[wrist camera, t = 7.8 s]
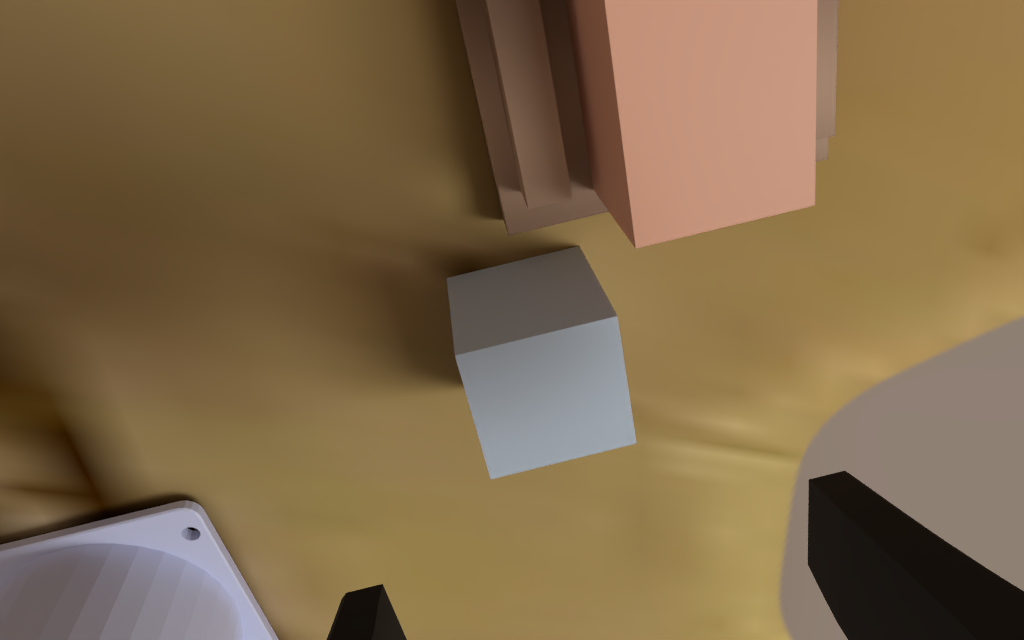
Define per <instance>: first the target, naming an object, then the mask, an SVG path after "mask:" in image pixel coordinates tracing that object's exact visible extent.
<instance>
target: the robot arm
mask: <svg viewBox="0 0 1024 640" xmlns="http://www.w3.org/2000/svg"><path fill="white" fill-rule="evenodd" d="M808 517H809V518H808V565H809V567H810V569H811V572H812V574H813V576H814V578H815V580H816V582H817V584H818V586H819V588H820V590H821V592H822V594H823V596H824V598H825V600H826V602H827V604H828V605H829V607H830V609H831V611H832V613H833V615H834V617H835V619H836V621H837V623H838V624H839V626H840V627H841V629H842V630H843V632H844V634H845V635H846V637H847V638H848V640H1024V591H1022V590H1021V589H1019V588H1017V587H1016V586H1014V585H1012V584H1011V583H1009V582H1008V581H1006V580H1004V579H1003V578H1001V577H1000V576H998V575H997V574H995V573H993V572H992V571H990V570H989V569H987V568H985V567H984V566H982V565H981V564H979V563H978V562H976V561H975V560H973V559H972V558H970V557H969V556H967V555H966V554H964V553H963V552H961V551H960V550H958V549H957V548H955V547H953V546H952V545H950V544H949V543H947V542H946V541H944V540H943V539H941V538H940V537H939V536H937V535H936V534H934V533H932V532H931V531H930V530H928V529H927V528H925V527H924V526H923V525H921V524H920V523H918V522H917V521H915V520H914V519H913V518H911V517H910V516H908V515H907V514H905V513H904V512H902V511H901V510H900V509H898V508H897V507H896V506H894V505H893V504H891V503H890V502H888V501H887V500H886V499H884V498H883V497H881V496H880V495H879V494H877V493H876V492H874V491H873V490H872V489H870V488H869V487H867V486H866V485H865V484H863V483H862V482H860V481H859V480H858V479H856V478H855V477H853V476H852V475H850V474H849V473H847V472H846V471H842V472H838V473H834V474H830V475H826V476H822V477H818V478H814V479H809V514H808ZM187 527H193V528H196V529H198V530H196V531H193V530H190V529H188V528H187ZM0 640H279V639H278V638H277V636H276V634H275V632H274V631H273V629H272V627H271V625H270V624H269V622H268V620H267V618H266V617H265V615H264V613H263V612H262V610H261V608H260V606H259V605H258V603H257V601H256V599H255V598H254V596H253V594H252V592H251V591H250V589H249V587H248V585H247V584H246V582H245V580H244V579H243V577H242V575H241V573H240V572H239V570H238V568H237V566H236V565H235V563H234V561H233V559H232V558H231V556H230V554H229V552H228V551H227V549H226V547H225V546H224V544H223V542H222V540H221V539H220V537H219V535H218V533H217V532H216V530H215V528H214V526H213V525H212V523H211V521H210V519H209V518H208V516H207V514H206V513H205V511H204V509H203V508H202V507H201V506H200V505H199V504H197V503H195V502H192V501H187V500H186V501H178V502H174V503H170V504H165V505H161V506H157V507H153V508H149V509H145V510H141V511H137V512H133V513H129V514H124V515H120V516H116V517H112V518H108V519H104V520H100V521H96V522H92V523H88V524H83V525H79V526H75V527H71V528H67V529H63V530H59V531H55V532H51V533H47V534H42V535H38V536H34V537H30V538H26V539H22V540H18V541H14V542H10V543H6V544H1V545H0ZM327 640H407V639H406V637H405V635H404V632H403V630H402V628H401V626H400V623H399V621H398V619H397V616H396V614H395V612H394V609H393V607H392V605H391V603H390V600H389V598H388V596H387V593H386V591H385V589H384V586H383V584H381V585H377V586H373V587H369V588H364V589H360V590H356V591H352V592H348V593H346V594H345V595H344V597H343V598H342V600H341V603H340V605H339V608H338V611H337V614H336V617H335V619H334V622H333V625H332V627H331V630H330V633H329V635H328V638H327Z"/></svg>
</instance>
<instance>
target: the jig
mask: <svg viewBox="0 0 1024 640" xmlns="http://www.w3.org/2000/svg"><path fill="white" fill-rule="evenodd" d="M455 3H456V7H457V12H458V16H459V21H460V25H461V30H462V34H463V39H464V43H465V48H466V52H467V57H468V61H469V66H470V70H471V75H472V79H473V84H474V88H475V93H476V97H477V102H478V106H479V111H480V115H481V120H482V124H483V129H484V133H485V138H486V142H487V147H488V151H489V156H490V160H491V165H492V169H493V174H494V178H495V183H496V187H497V192H498V196H499V201H500V205H501V210H502V214H503V219H504V222H505V225H506V228H507V231H508V234H509V235H513V234H517V233H521V232H525V231H530V230H534V229H538V228H542V227H546V226H550V225H555V224H559V223H563V222H567V221H571V220H575V219H580V218H584V217H588V216H592V215H596V214H600V213H604V212H609V211H608V209H607V208H606V207H605V205H604V204H603V202H602V201H601V200H600V198H599V197H598V195H597V194H596V193H595V191H594V190H593V183H592V176H591V170H590V163H589V156H588V150H587V143H586V137H585V130H584V123H583V117H582V110H581V103H580V97H579V90H578V84H577V77H576V70H575V64H574V57H573V51H572V44H571V37H570V31H569V24H568V17H567V11H566V4H565V0H455ZM837 33H838V0H818V1H817V79H816V157H815V162H817V161H821V160H825V159H828V137H832V136H835V109H836V71H837Z"/></svg>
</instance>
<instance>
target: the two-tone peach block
mask: <svg viewBox="0 0 1024 640" xmlns="http://www.w3.org/2000/svg"><path fill="white" fill-rule="evenodd" d="M817 1H818V0H565V4H566V11H567V17H568V24H569V31H570V37H571V44H572V51H573V57H574V64H575V70H576V77H577V84H578V90H579V97H580V103H581V110H582V117H583V123H584V130H585V137H586V143H587V150H588V156H589V163H590V170H591V176H592V183H593V190H594V191H595V193H596V194H597V195H598V197H599V198H600V200H601V201H602V202H603V204H604V205H605V207H606V208H607V209H608V211H609V212H610V213H611V215H612V216H613V218H614V219H615V220H616V222H617V223H618V225H619V226H620V227H621V229H622V230H623V232H624V233H625V234H626V236H627V237H628V239H629V240H630V241H631V243H632V244H633V245H634V247H635V248H640V247H644V246H648V245H652V244H656V243H661V242H665V241H669V240H673V239H677V238H681V237H686V236H690V235H694V234H698V233H702V232H706V231H710V230H715V229H719V228H723V227H727V226H731V225H735V224H739V223H744V222H748V221H752V220H756V219H760V218H764V217H768V216H773V215H777V214H781V213H785V212H789V211H793V210H797V209H802V208H806V207H810V206H814V205H815V157H816V79H817Z"/></svg>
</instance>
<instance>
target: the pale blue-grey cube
mask: <svg viewBox="0 0 1024 640" xmlns="http://www.w3.org/2000/svg"><path fill="white" fill-rule="evenodd" d="M447 288H448V297H449V306H450V315H451V325H452V334H453V343H454V353H455V358H456V361H457V365H458V368H459V372H460V375H461V379H462V382H463V385H464V389H465V392H466V396H467V399H468V403H469V406H470V409H471V413H472V416H473V420H474V423H475V426H476V430H477V433H478V437H479V440H480V444H481V447H482V450H483V454H484V457H485V461H486V464H487V468H488V471H489V474H490V478H491V479H494V478H498V477H502V476H506V475H510V474H514V473H518V472H522V471H526V470H531V469H535V468H539V467H543V466H547V465H551V464H555V463H559V462H563V461H567V460H571V459H575V458H579V457H583V456H587V455H591V454H596V453H600V452H604V451H608V450H612V449H616V448H620V447H624V446H628V445H632V444H636V437H635V430H634V424H633V417H632V410H631V404H630V397H629V390H628V384H627V377H626V370H625V364H624V357H623V350H622V344H621V337H620V330H619V324H618V317H617V314H616V313H615V311H614V309H613V307H612V305H611V303H610V302H609V300H608V298H607V296H606V294H605V292H604V291H603V289H602V287H601V285H600V283H599V281H598V280H597V278H596V276H595V274H594V272H593V270H592V268H591V267H590V265H589V263H588V261H587V259H586V257H585V256H584V254H583V252H582V250H581V248H580V246H577V247H573V248H568V249H564V250H560V251H556V252H552V253H548V254H544V255H540V256H536V257H531V258H527V259H523V260H519V261H515V262H511V263H507V264H503V265H498V266H494V267H490V268H486V269H482V270H478V271H474V272H470V273H466V274H461V275H457V276H453V277H449V278H447Z"/></svg>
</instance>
